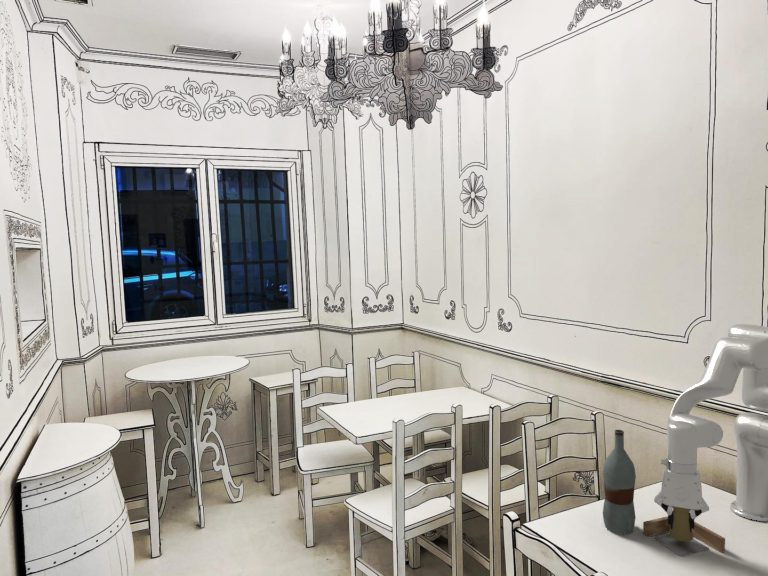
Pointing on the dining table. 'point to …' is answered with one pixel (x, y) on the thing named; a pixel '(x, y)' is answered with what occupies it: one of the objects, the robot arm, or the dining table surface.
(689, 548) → the corner arena
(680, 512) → the cork
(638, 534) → the dining table surface
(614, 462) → the bottle
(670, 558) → the dining table surface
